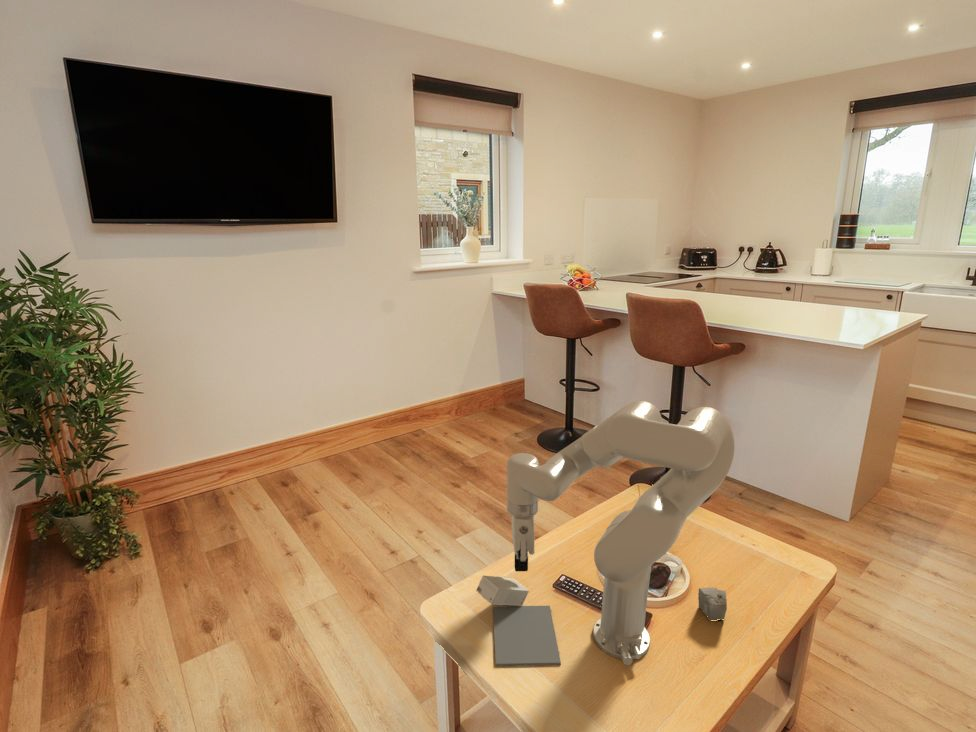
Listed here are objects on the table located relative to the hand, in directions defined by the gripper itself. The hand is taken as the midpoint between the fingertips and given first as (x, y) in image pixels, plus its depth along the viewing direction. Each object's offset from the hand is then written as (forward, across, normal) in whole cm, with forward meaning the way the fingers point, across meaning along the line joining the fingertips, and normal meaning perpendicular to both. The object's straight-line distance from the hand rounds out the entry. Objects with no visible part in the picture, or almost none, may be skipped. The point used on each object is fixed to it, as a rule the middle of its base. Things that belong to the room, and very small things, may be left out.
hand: (521, 569), depth 131 cm
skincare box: (+6, -1, +1) cm, 6 cm away
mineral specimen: (+8, -8, -46) cm, 47 cm away
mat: (+8, -13, 0) cm, 15 cm away
